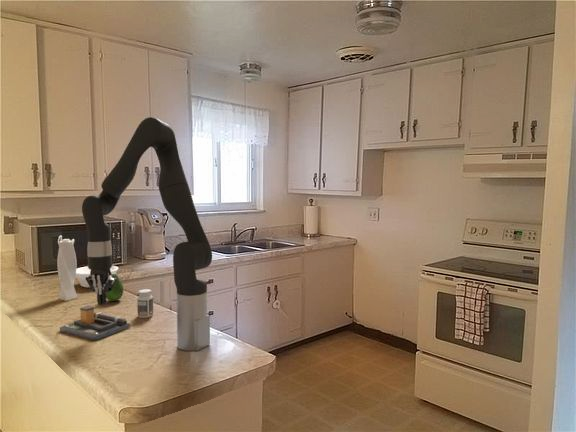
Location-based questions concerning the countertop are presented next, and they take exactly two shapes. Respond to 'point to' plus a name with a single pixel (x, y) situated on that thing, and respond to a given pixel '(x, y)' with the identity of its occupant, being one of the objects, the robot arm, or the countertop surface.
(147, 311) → the pill bottle
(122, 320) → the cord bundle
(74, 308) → the countertop surface
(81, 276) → the bowl
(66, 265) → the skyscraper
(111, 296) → the avocado
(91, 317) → the lever
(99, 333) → the breaker panel
